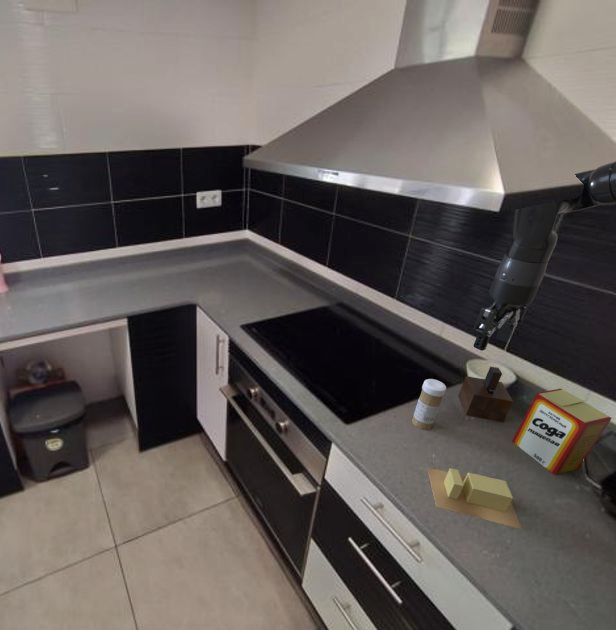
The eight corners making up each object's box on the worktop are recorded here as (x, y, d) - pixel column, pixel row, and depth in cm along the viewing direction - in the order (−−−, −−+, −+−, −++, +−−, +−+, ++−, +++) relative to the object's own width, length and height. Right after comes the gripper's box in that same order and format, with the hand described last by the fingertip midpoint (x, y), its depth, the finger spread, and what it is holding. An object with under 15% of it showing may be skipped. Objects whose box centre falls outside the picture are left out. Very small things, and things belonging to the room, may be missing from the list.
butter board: (501, 489, 78) (503, 485, 78) (520, 533, 70) (522, 529, 69) (425, 470, 82) (427, 466, 82) (434, 510, 74) (436, 506, 73)
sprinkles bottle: (429, 424, 95) (445, 381, 89) (431, 437, 91) (448, 392, 85) (409, 419, 96) (423, 376, 90) (410, 431, 93) (425, 387, 87)
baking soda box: (575, 473, 81) (612, 416, 74) (551, 479, 80) (587, 422, 73) (531, 441, 90) (561, 387, 82) (509, 446, 88) (537, 391, 81)
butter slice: (452, 483, 78) (458, 469, 76) (457, 499, 75) (463, 486, 73) (443, 481, 78) (449, 467, 77) (448, 497, 75) (454, 483, 73)
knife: (481, 404, 99) (498, 366, 94) (485, 413, 96) (503, 374, 91) (473, 403, 100) (489, 365, 94) (477, 411, 97) (494, 373, 91)
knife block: (490, 406, 101) (501, 381, 97) (501, 426, 94) (513, 401, 90) (456, 399, 103) (465, 375, 99) (463, 419, 96) (474, 394, 93)
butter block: (498, 494, 76) (505, 481, 74) (505, 512, 72) (513, 498, 70) (461, 485, 78) (467, 472, 76) (466, 502, 74) (473, 488, 72)
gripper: (517, 290, 73) (488, 360, 81) (557, 278, 79) (526, 345, 86) (478, 277, 79) (454, 343, 87) (517, 267, 85) (491, 330, 92)
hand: (490, 344), depth 87 cm, fingers open, 8 cm apart
